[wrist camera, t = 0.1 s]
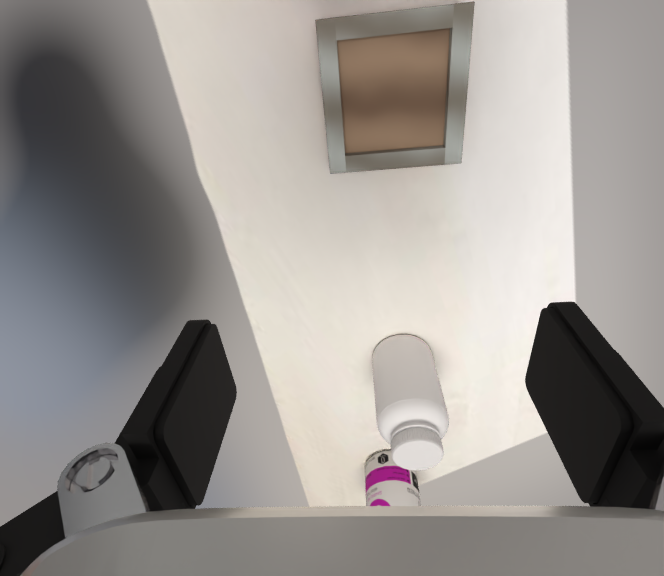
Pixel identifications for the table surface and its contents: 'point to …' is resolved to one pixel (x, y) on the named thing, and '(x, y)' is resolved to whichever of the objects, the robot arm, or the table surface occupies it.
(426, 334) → the table surface
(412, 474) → the supplement can
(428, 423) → the pill bottle
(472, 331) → the table surface
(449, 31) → the square wooden tray
